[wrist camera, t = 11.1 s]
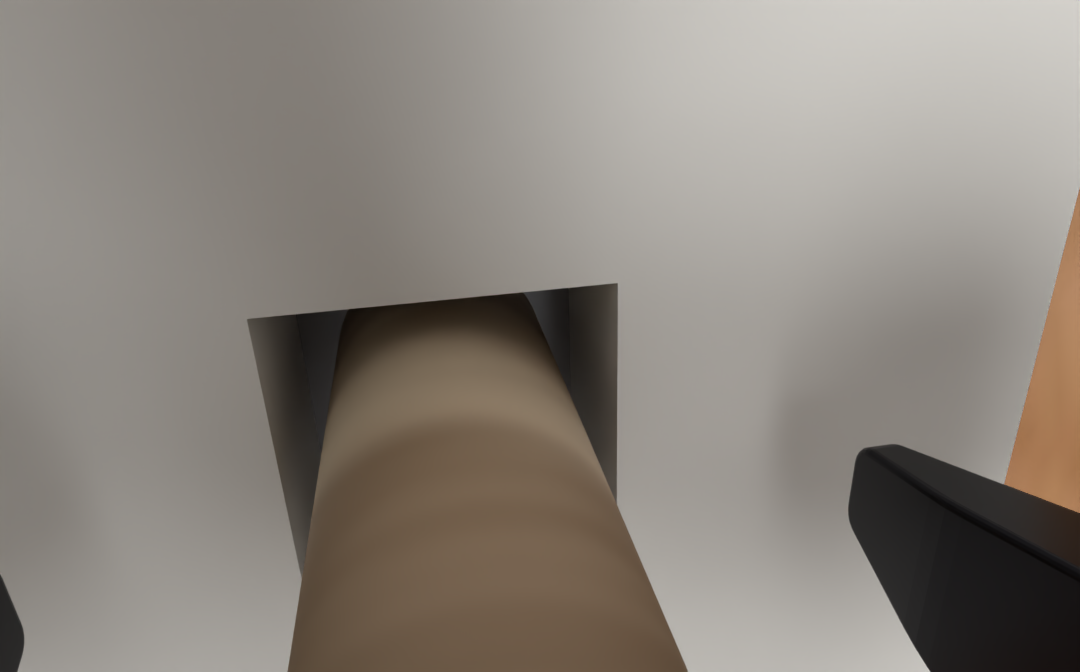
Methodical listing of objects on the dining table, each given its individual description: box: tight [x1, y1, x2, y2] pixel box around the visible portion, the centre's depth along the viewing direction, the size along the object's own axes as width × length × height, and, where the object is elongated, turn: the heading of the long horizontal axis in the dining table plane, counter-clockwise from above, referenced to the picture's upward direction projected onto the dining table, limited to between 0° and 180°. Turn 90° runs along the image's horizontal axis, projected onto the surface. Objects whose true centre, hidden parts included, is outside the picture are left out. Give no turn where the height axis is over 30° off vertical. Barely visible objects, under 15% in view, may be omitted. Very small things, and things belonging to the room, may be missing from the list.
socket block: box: [0, 0, 1080, 672], centre depth 12 cm, size 16×16×4 cm
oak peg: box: [288, 292, 688, 672], centre depth 8 cm, size 3×3×10 cm
